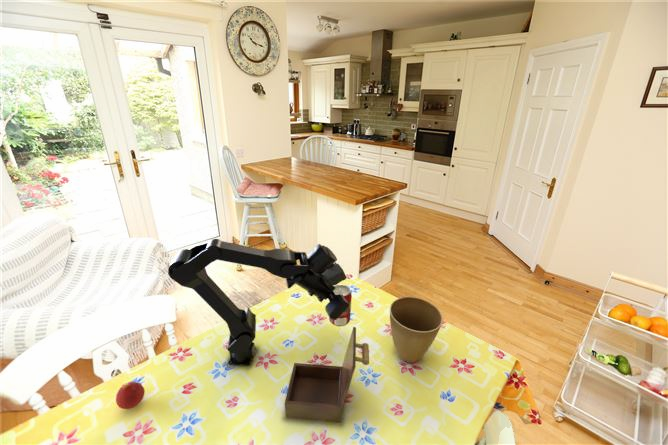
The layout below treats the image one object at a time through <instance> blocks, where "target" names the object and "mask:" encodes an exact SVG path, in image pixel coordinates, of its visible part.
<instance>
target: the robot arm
mask: <svg viewBox="0 0 668 445" xmlns="http://www.w3.org/2000/svg"><path fill="white" fill-rule="evenodd" d="M215 261H221V262H225V263H232V264H238V265H243V266H247V267H253V268H259V269H263V270H265V271H267V272H268V273H269V274H271V275H273V276H276V277H278V278H282V279H285V283H286V287H287V289H291V288H292V287H293V286H294V285H297V286H298V287H299V288H301V289H304V291H306V292H307V294H308V295H309V296H310V297H313V296H315V297H316V298H317V300H318V302H319V303H322V302H323V301H324V300H325V301H327V300H328V301H329V302H328V303H327V304H326V305H325V306H324V307H325V308H324V310H325V312H326V314H327V316H328V318H329V317H330V318H331V319H333V320H337V319H338V317H339V316H340V315H341V314H342V313H343V312H348V311H349V310H350V308H349V307H348V306H349V303H348V302H347V300H346V299H345V297H344V296H343V295H341V294H338V295H336V294H335V293H334V289H335V286H336V285H339V284H340V283H341V282H344V281H345V280H346V279H347V275H346V273H345V271H344V269H343V268H342V266H341V265H340V264H339V263H336V262H337V261H338V258H337V256H336V255H335V253H334V252H333V251H332V250H331V249H330V248H329V247H328V246H325V245H322V244H320V243H318V244H317V245H316V246H315V247H314V249H312V251H311V252H310V253H308V254H307V252H306V251H296V250H295V251H293V250H292V249H288V248H273V249H262V248H258V247H252V246H247V245H242V244H237V243H234V242H233V243H232V242H228V241H223V240H221V239H219V238H212V239H211V240H208V241H206V242H203V243H199V244H196V245H194V246H192V247H190V248H184V249H180V250H179V251H178V252H176V253H175V256H174V257H173V258H172V260H171V262H170V265H169V266H168V269H167V275H168V277H169V278H170V279H171V280H173V281H174V282H175V283H177V284H178V285H180V286H181V287H184V288H188V289H192V290H193V291H194V292H195V294H197V295H198V296H199V297H200V298H201V299H202V300H203V301H204V302H205V304H207V305H208V306H209V307H210V308H211V309H212V310H213V311H214V312H215V313H216V314H217V315H218V316H219V317H220V318H221V319H222V320H223V321H224V322H225V323H226V325H227V328H228V330H229V334H228V335H229V337H228V343H227V351H228V354H229V359H228V362H227V364H228V365H232V366H244V367H246V366H247V367H250V365H251V363H252V360H254V357H255V355H256V353H257V352H256V351H257V347H256V344H255V342H254V340H256V336H257V335H256V333H257V318H256V317H257V316H256V315H257V314H256V313H253V312H252V311H251V310H252V309H250V307H247V308H245V309H241V308H239V307H238V306H237V305H236V304H235V303H234V302H233V301H232V299H230V297H228V295H227V294H226V293H225V292H224V291H223V289H221V288H220V286H219V285H218V284H217V283H216V282H215V281H214V280H213V279H212V278H211V276H210V275H209V274H208V272H207V270H206V267H208V266H209V265H210V264H211V263H213V262H215ZM298 261H299V264H298Z"/></svg>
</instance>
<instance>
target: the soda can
mask: <svg viewBox="0 0 668 445" xmlns="http://www.w3.org/2000/svg"><path fill="white" fill-rule="evenodd" d="M334 286H335V289H334V293H335V294H336V295H338V294H341V295H343V296H344V297H345V299H346V300H347V302H348V303H349V306H348V307H349V308H350V310H349V311H348V312H343V313H342V314H341V315H340V316H339V317H338V319H337V320H333V319H331V318H330V317H329V316H328V320H329V322H330V324H332V325H333V326H335V327H345V326H347V325H348V324H349V323H350V321H351V311H352V292H351V289H350V288H349V286H347V285H345V284H337V285H334Z"/></svg>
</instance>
